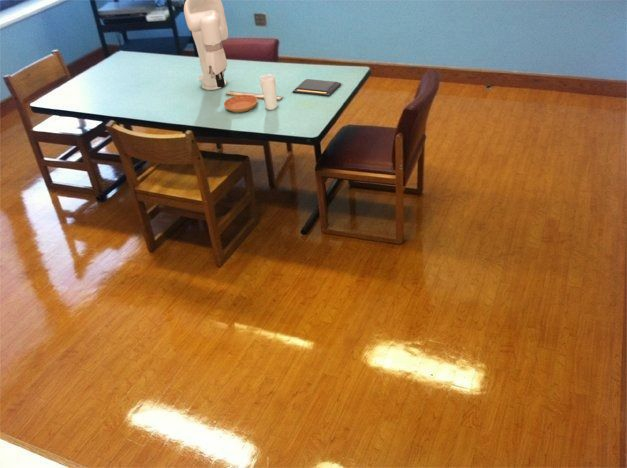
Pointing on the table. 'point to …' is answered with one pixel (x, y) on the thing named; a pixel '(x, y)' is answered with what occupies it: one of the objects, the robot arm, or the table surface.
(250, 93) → the ruler
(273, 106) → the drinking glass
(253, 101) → the saucer
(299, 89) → the wallet
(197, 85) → the table surface
